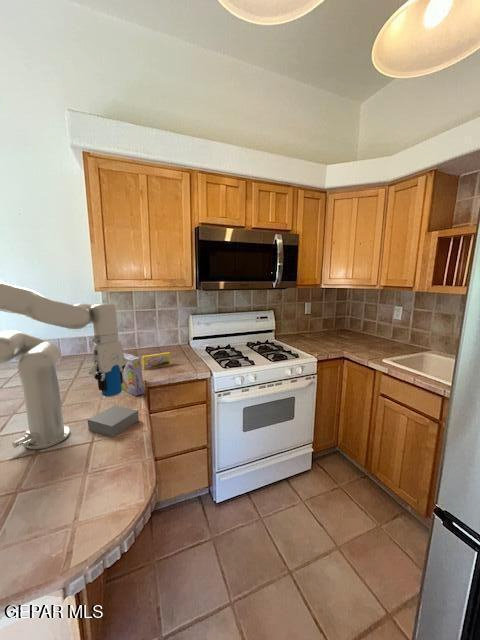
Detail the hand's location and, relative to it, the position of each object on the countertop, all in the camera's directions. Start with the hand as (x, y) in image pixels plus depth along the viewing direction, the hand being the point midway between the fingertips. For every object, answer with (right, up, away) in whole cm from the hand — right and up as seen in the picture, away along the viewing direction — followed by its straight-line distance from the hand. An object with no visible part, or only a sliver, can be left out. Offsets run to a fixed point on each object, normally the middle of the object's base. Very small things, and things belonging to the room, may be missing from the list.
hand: (111, 386), depth 98 cm
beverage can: (0, -3, +1) cm, 3 cm away
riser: (0, -15, +2) cm, 15 cm away
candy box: (-4, -5, +68) cm, 68 cm away
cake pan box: (-7, -10, +34) cm, 36 cm away
